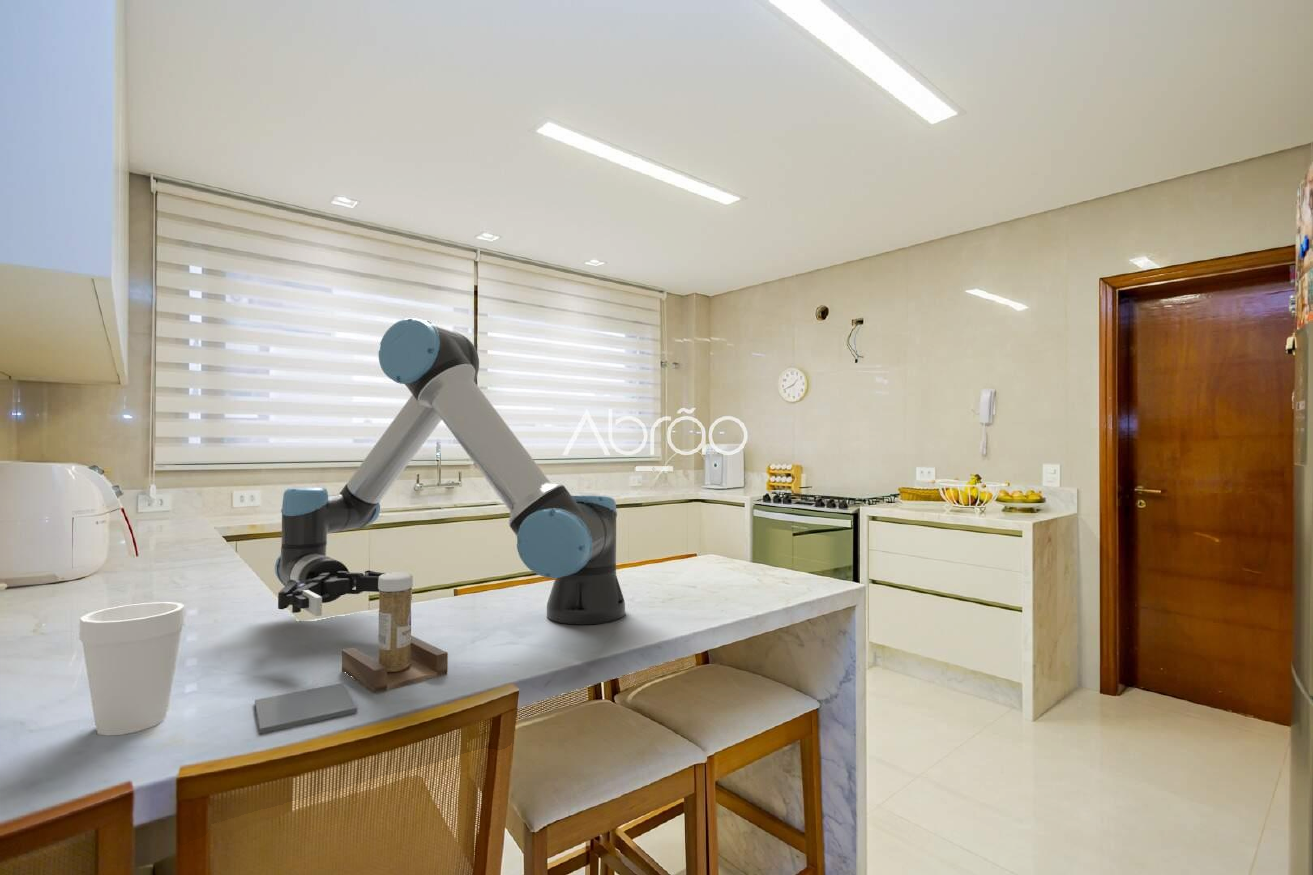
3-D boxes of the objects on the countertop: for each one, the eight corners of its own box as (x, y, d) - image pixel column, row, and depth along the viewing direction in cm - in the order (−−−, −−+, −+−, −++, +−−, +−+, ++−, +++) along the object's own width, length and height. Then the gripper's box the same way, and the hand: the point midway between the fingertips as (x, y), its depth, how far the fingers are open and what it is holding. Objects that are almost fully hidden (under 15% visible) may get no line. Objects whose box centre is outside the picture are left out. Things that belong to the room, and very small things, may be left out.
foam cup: (70, 749, 67) (73, 627, 67) (83, 719, 74) (85, 609, 75) (182, 726, 73) (184, 613, 73) (184, 700, 80) (185, 598, 80)
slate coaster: (342, 687, 85) (342, 682, 85) (356, 712, 76) (356, 707, 76) (254, 704, 79) (255, 699, 79) (260, 733, 71) (260, 728, 71)
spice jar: (413, 670, 89) (414, 576, 89) (378, 675, 87) (379, 579, 87) (409, 659, 93) (410, 569, 93) (375, 664, 91) (376, 572, 91)
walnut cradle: (410, 654, 98) (411, 635, 98) (447, 673, 90) (447, 652, 90) (341, 670, 91) (341, 650, 91) (374, 693, 82) (374, 670, 82)
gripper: (390, 588, 121) (442, 609, 106) (238, 611, 103) (274, 640, 88) (391, 549, 121) (443, 564, 106) (239, 565, 103) (276, 586, 89)
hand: (366, 599), depth 97 cm, fingers open, 13 cm apart
